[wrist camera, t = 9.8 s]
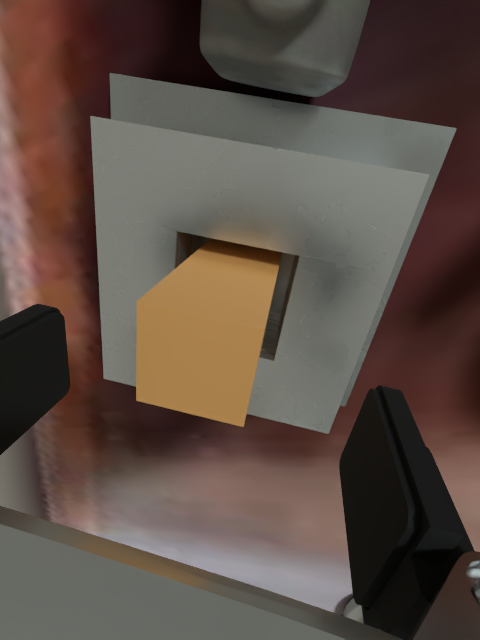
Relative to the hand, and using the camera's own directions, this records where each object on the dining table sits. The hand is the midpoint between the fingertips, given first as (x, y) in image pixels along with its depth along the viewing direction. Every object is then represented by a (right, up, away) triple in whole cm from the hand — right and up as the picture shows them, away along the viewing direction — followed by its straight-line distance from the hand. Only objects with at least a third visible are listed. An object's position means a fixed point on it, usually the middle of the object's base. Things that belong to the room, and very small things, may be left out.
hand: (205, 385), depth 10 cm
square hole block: (+2, +5, +9) cm, 11 cm away
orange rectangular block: (+1, +5, +9) cm, 10 cm away
